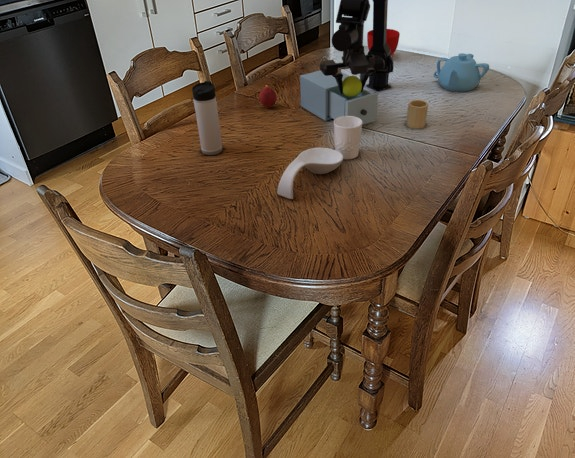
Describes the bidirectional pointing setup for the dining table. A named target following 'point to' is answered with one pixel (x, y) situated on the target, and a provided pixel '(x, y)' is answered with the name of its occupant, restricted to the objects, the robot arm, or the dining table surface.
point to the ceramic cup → (391, 39)
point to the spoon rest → (309, 167)
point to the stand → (417, 114)
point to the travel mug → (207, 118)
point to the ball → (351, 86)
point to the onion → (267, 97)
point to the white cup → (347, 136)
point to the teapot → (460, 72)
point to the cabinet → (317, 92)
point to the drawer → (353, 105)
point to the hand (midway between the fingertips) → (351, 92)
